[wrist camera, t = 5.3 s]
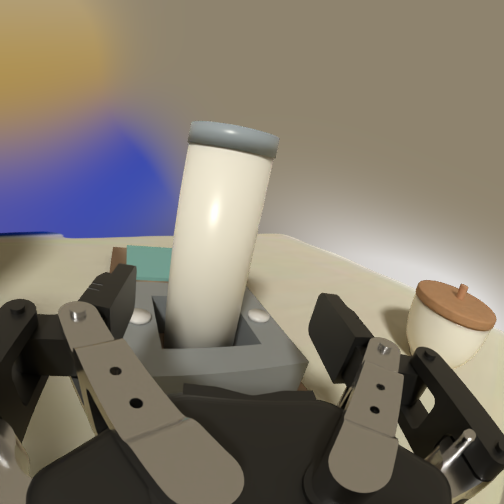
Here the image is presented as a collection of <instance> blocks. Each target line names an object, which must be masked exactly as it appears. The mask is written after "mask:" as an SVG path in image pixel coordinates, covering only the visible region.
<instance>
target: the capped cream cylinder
mask: <svg viewBox="0 0 504 504" xmlns="http://www.w3.org/2000/svg"><path fill="white" fill-rule="evenodd" d="M188 143H189V146H188V151H187V157H186V163H185V168H184V173H183V179H182V186H181V191H180V197H179V204H178V210H177V217H176V224H175V232H174V239H173V247H172V255H171V264H170V273H169V283H168V293H167V304H166V317H165V331H164V348H163V349H186V348H212V347H230V346H233V343H234V338H235V334H236V329H237V325H238V320H239V315H240V311H241V306H242V302H243V297H244V292H245V288H246V283H247V279H248V274H249V269H250V265H251V260H252V256H253V251H254V246H255V242H256V237H257V232H258V228H259V223H260V218H261V214H262V209H263V205H264V200H265V195H266V191H267V186H268V182H269V177H270V173H271V168H272V163H273V159H274V158H276V153H277V148H278V144H279V137H277V136H275V135H272V134H269V133H266V132H262V131H259V130H255V129H251V128H247V127H242V126H237V125H231V124H224V123H217V122H207V121H193V122H192V124H191V128H190V133H189V137H188Z"/></svg>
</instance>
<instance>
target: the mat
mask: <svg viewBox="0 0 504 504" xmlns="http://www.w3.org/2000/svg"><path fill="white" fill-rule="evenodd" d="M171 255H172V248H161V247H146V246H131V245H127V264H128V265H133V266H136V267H137V276H136V280H148V281H169V273H170V264H171Z"/></svg>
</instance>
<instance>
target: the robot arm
mask: <svg viewBox="0 0 504 504" xmlns="http://www.w3.org/2000/svg"><path fill="white" fill-rule="evenodd" d="M136 276H137V267H136V266H133V265H128V264H122V263H119V264H118V265H117V266H116V268H115V269H114V270H113V272H112V273H108V272H105V273H103V274H101V275H99V276H97V277H96V278H95V280H94V281H93V282H92V284H91V285H90V286H89V287H88V288H87V290H86V291H85V292H84V294H83V295H82V296H81V297H80V299H79V300H78V301H75V302H69V303H66V304H64V305H63V306H62V307H60V309H59V311H58V314H56V315H45V314H37V311H36V306H35V305H34V303H32V302H31V301H29V300H25V299H16V300H11V301H9V302H7V303H5V304H4V305H3V306H2V307H1V308H0V504H464V503H465V502H466V501H467V500H469V499H470V498H472V497H474V496H475V495H476V494H478V493H479V492H480V491H481V490H482V489H484V488H485V487H486V486H487V485H488V484H489V483H491V482H492V481H493V480H494V479H495V478H496V476H497V475H498V474H499V473H500V472H501V471H502V470H504V434H503V433H502V432H501V430H500V429H499V428H498V426H497V425H496V424H495V422H494V421H493V420H492V418H491V417H490V416H489V414H488V413H487V412H486V410H485V409H484V408H483V407H482V405H481V404H480V403H479V402H478V400H477V399H476V398H475V397H474V395H473V394H472V393H471V392H470V390H469V389H468V388H467V387H466V385H465V384H464V383H463V382H462V381H461V379H460V378H459V377H458V376H457V375H456V373H455V372H454V371H453V370H452V369H451V368H450V366H449V365H448V364H447V363H446V362H445V361H444V359H443V358H442V357H441V356H440V355H439V354H438V353H437V352H436V351H434V350H432V349H430V348H427V347H417V348H416V350H415V352H414V354H413V355H412V356H407V355H402V354H400V349H399V348H398V346H397V345H395V344H394V343H393V342H391V341H389V340H387V339H384V338H380V337H374V336H373V335H372V333H371V332H370V331H369V330H368V328H367V327H366V326H365V325H364V324H363V322H362V321H361V320H360V319H359V317H358V316H357V315H356V313H355V312H354V311H352V310H351V309H350V308H348V307H347V306H346V305H345V303H344V302H343V301H342V300H341V298H340V297H339V296H338V295H335V294H327V293H321V294H320V295H319V297H318V299H317V302H316V305H315V308H314V311H313V314H312V317H311V320H310V323H309V336H310V338H311V340H312V342H313V344H314V346H315V348H316V350H317V352H318V354H319V356H320V358H321V360H322V362H323V364H324V366H325V368H326V370H327V372H328V374H329V376H330V378H331V380H332V382H333V384H340V383H345V384H346V388H345V390H344V392H343V394H342V396H341V399H340V401H339V403H338V405H337V406H336V405H333V404H331V403H328V402H325V401H321V400H316V398H315V395H314V393H313V391H278V392H272V393H266V394H260V395H248V394H243V393H239V392H235V391H231V390H228V389H224V388H220V387H215V386H206V385H197V384H189V383H184V384H183V392H180V393H172V394H167V395H166V394H165V393H164V392H163V390H162V389H161V388H160V387H159V385H158V384H157V383H156V382H155V380H154V379H153V378H152V376H151V375H150V374H149V372H148V371H147V370H146V368H145V367H144V366H143V364H142V363H141V362H140V360H139V359H138V357H137V356H136V355H135V353H134V352H133V350H132V349H131V348H130V346H129V345H128V343H127V342H126V340H125V339H123V337H124V334H125V332H126V329H127V327H128V324H129V322H130V320H131V317H132V315H133V312H134V307H135V297H136ZM49 376H69V377H70V380H71V382H72V385H73V387H74V389H75V392H76V394H77V396H78V398H79V401H80V403H81V405H82V407H83V409H84V411H85V413H86V416H87V418H88V421H89V423H90V426H91V428H92V431H93V433H94V435H95V437H94V438H92V439H90V440H89V441H87V442H86V443H84V444H82V445H81V446H79V447H77V448H76V449H74V450H73V451H71V452H69V453H68V454H66V455H64V456H63V457H61V458H59V459H57V460H56V461H54V462H52V463H51V464H49V465H47V466H46V467H44V468H43V469H41V470H40V471H39V472H38V473H37V474H36V475H35V476H34V477H33V479H32V478H30V475H29V467H30V460H29V456H28V454H27V452H26V450H25V449H24V447H23V446H22V441H23V438H24V435H25V433H26V430H27V427H28V425H29V422H30V419H31V417H32V414H33V412H34V409H35V407H36V404H37V402H38V400H39V397H40V395H41V393H42V390H43V388H44V386H45V384H46V381H47V379H48V377H49ZM427 387H428V389H429V390H430V391H431V393H432V394H433V396H434V398H435V405H434V407H433V409H432V410H431V412H430V413H429V414H428V412H427V410H426V409H425V407H424V406H423V404H422V403H421V401H420V400H419V398H420V397H421V395H422V394H423V392H424V391H425V389H426V388H427ZM397 423H398V424H399V426H400V428H401V429H402V431H403V433H404V435H405V437H406V439H407V441H408V443H409V445H410V447H411V448H412V450H413V452H414V453H412V452H410V451H409V450H407V449H405V448H404V447H402V446H400V445H399V444H398V439H397V438H396V437H395V434H396V428H397Z"/></svg>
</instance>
